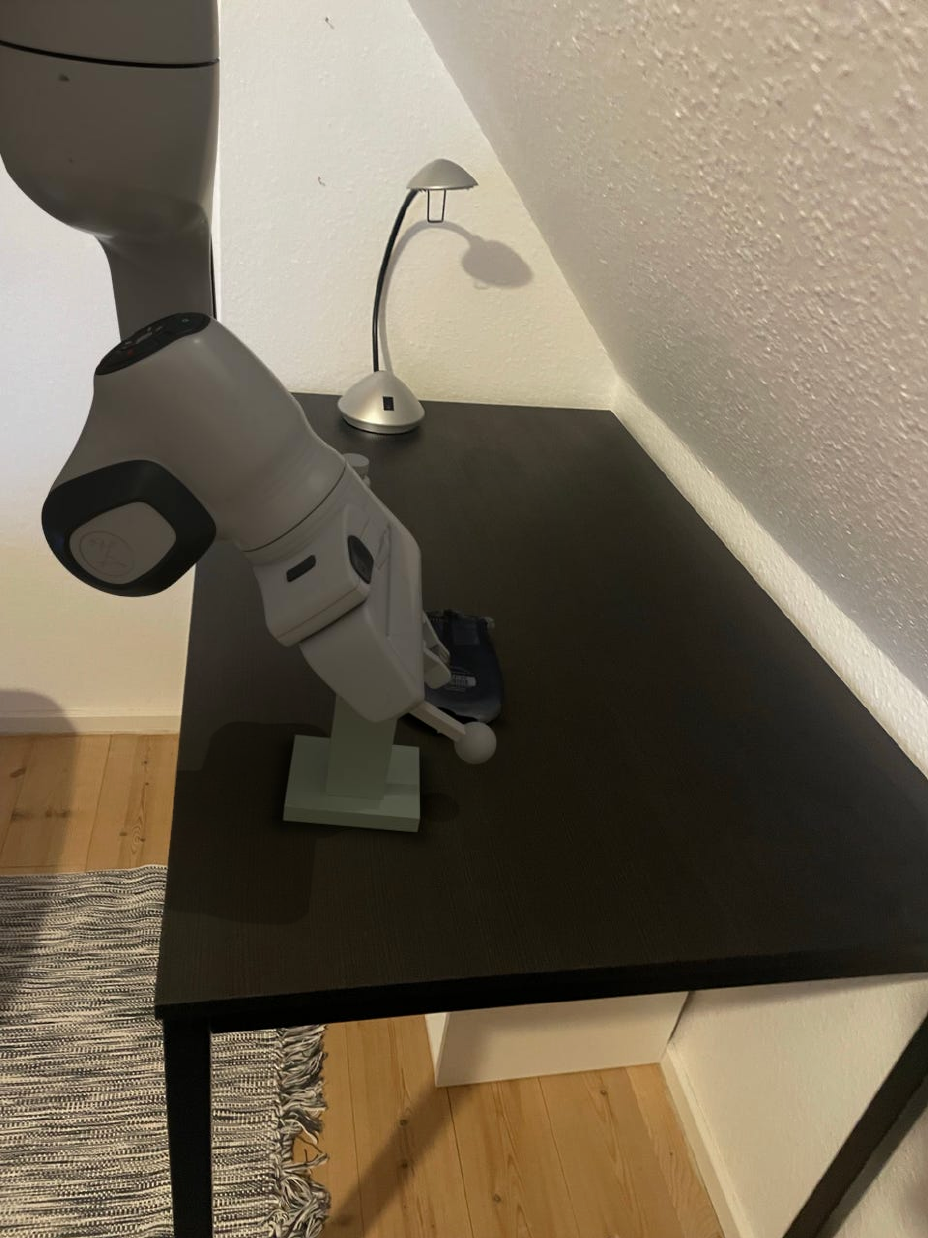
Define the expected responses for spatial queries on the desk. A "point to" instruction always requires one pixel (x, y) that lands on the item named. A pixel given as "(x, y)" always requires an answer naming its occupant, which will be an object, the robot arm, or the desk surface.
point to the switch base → (354, 776)
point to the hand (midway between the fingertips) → (442, 673)
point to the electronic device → (467, 668)
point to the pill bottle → (359, 465)
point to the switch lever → (460, 733)
